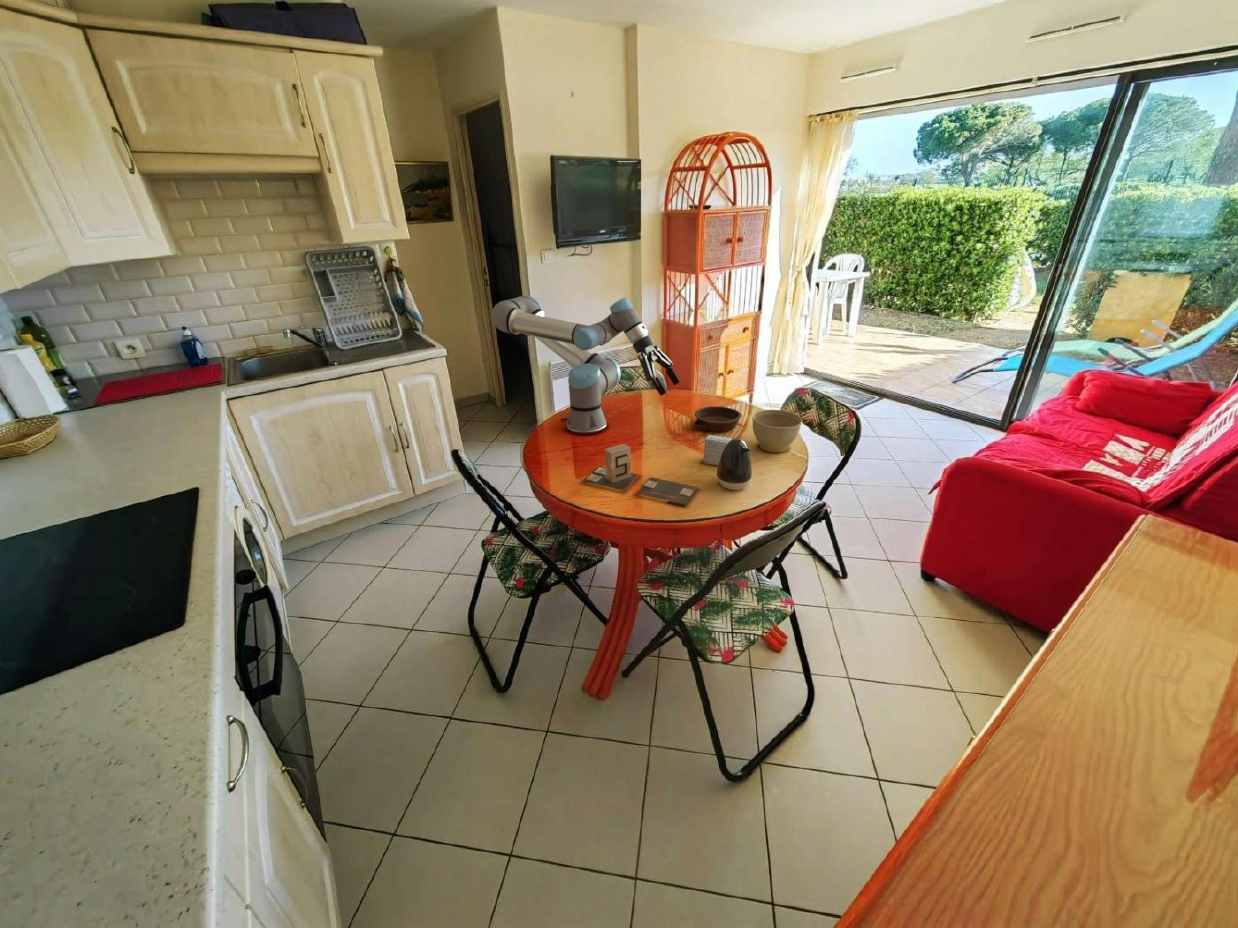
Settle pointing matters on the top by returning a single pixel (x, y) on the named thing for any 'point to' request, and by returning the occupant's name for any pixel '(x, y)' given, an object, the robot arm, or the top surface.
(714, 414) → the dish
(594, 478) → the left mat
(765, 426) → the planter bowl
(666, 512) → the top surface
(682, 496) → the right mat
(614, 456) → the small grey cuboid
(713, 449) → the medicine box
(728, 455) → the pump dispenser
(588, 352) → the robot arm
